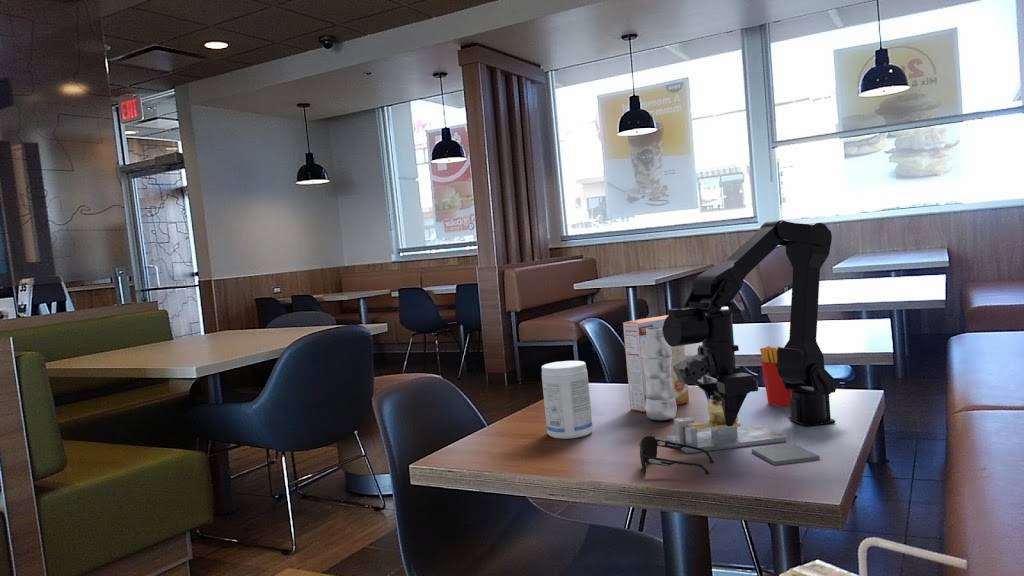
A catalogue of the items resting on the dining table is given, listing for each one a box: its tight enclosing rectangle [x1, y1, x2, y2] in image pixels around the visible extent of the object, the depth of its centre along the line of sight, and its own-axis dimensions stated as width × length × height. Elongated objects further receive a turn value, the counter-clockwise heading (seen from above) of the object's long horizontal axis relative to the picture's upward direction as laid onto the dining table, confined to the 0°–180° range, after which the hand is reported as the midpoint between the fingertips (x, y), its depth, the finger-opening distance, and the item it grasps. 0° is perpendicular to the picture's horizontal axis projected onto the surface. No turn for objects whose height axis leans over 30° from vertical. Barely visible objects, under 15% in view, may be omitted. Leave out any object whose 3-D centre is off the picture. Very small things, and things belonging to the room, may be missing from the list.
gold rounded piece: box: [685, 394, 742, 430], centre depth 133 cm, size 10×5×6 cm, turn 97°
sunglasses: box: [638, 435, 714, 475], centre depth 120 cm, size 10×12×5 cm
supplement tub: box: [541, 360, 593, 440], centre depth 148 cm, size 10×10×15 cm
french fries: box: [759, 345, 794, 408], centre depth 159 cm, size 9×4×13 cm, turn 39°
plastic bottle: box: [641, 327, 678, 422], centre depth 153 cm, size 6×7×20 cm
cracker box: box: [622, 314, 690, 413], centre depth 166 cm, size 14×6×21 cm, turn 122°
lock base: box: [666, 416, 787, 454], centre depth 133 cm, size 19×10×5 cm, turn 97°
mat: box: [751, 443, 821, 466], centre depth 121 cm, size 8×8×1 cm
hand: (723, 422), depth 133 cm, fingers closed on gold rounded piece, 5 cm apart
